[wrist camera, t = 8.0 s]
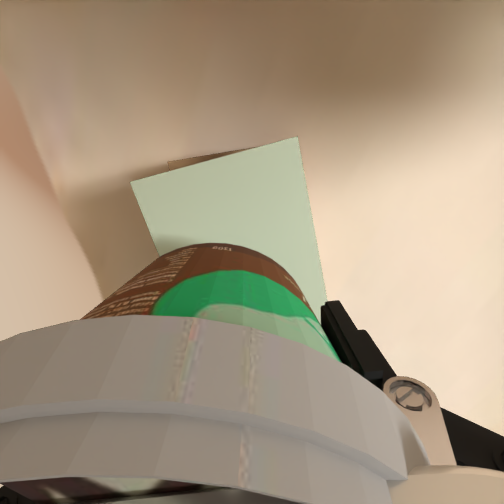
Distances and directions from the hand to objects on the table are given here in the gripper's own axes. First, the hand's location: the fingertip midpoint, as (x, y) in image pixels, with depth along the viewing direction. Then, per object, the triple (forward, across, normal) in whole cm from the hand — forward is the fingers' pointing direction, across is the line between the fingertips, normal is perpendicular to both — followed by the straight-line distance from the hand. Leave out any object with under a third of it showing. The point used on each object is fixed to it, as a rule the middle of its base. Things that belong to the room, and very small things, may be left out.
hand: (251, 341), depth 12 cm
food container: (+3, -1, 0) cm, 3 cm away
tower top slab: (+10, 0, 0) cm, 10 cm away
